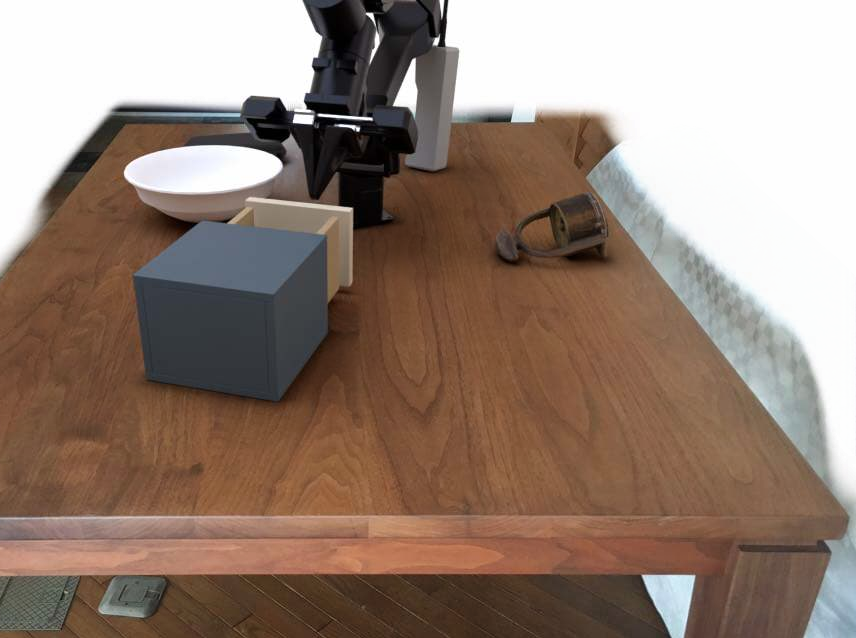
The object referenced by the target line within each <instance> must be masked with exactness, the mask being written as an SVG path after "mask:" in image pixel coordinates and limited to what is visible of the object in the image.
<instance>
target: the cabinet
mask: <svg viewBox="0 0 856 638" xmlns="http://www.w3.org/2000/svg"><path fill="white" fill-rule="evenodd" d="M227 223H228V222H227ZM227 223H226V222H210V221H201V222H200V223H197V224H196V225H195V226H193V227H192V228H191V229H190V230H188V231H187V232H186V233H184V234H183V235H182V236H180V237H179V238H177V239H176V241H174V242H173V243H172V244H170V245H169V246H167V248H165V249H164V250H163V251H162V252H160V253H159V254H157V256H155V257H154V258H152V259H151V260H150V261H149V262H147V263H146V264H145V265H143V266H142V267H141V268H140V269H138V270H137V271H136V272H135V273H133V274H132V280H133V281H132V282H133V286H134V287H133V289H134V295H135V304H136V311H137V312H136V313H137V318H138V326H139V334H140V335H139V336H140V341H141V349H142V357H143V365H144V372H145V380H146V381H150V382H151V381H153V382H158V383H163V384H164V383H165V384H170V385H176V386H181V387H187V388H193V389H198V390H204V391H205V390H206V391H209V392H216V393H222V394H227V395H228V394H229V395H235V396H240V397H247V398H252V399H258V400H263V401H270V402H275V403H279V401H281V399H282V398H283V396H284V394H285V393H286V392H287V390H288V389H289V388H290V386H291V385H292V383H293V382H294V380H295V379H296V378H297V376H298V375H299V374H300V372H301V371H302V370H303V368H304V367H305V365H306V364H307V362H308V361H309V360H310V358H311V357H312V355H314V353H315V352H316V350H317V349H318V347H319V346H320V345H321V343H322V342H323V340H324V339H325V338H326V336H327V335H328V334H329V329H328V328H329V327H328V326H329V308H328V307H329V306H328V305H329V302H328V280H327V235H323V234H314V233H305V232H297V231H288V230H279V229H271V228H262V227H253V226H244V225H236V224H227Z"/></svg>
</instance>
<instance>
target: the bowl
mask: <svg viewBox="0 0 856 638" xmlns="http://www.w3.org/2000/svg"><path fill="white" fill-rule="evenodd" d="M283 170H284V165H283V162H282V160H281V161H280V160H279V159H278V158H277V157H275V156H274V155H272V154H269V153H267V152H264V151H260V150H256V149H251V148H245V147H237V146H221V145H206V146H189V147H184V146H182V147H173V148H168V149H164V150H163V149H162V150H159V151H155V152H151V153H148V154H145V155H143V156H140V157H138V158H136V159H134V160H132V161H131V162H129V163H128V164H127V165H126V166H125V168H124V171H123V175H124V179H125V180H126V181H127V182H129V183H130V184H131V185H132V186H133V187H134V188H135V190H136V193H137V195H138V198H139V199H140V200H141V201H142V202H143V203H144V204H147V205H148V206H150V207H153V208H155V209H156V210H158V211H159V212H161V213H164V214H165V215H167V216H170V217H171V218H175V219H178V220H180V221H184V222H188V223H197V224H198V223H200V222H201V221H210V222H218V223H220V222H224V221H227V220H232V219H233V218H234V217H235V216H237V215H238V214H239V213H240V212H241V211H243V210H244V209H245V208H246V204H245V200H246V199H248V198H249V197H255V198H264V199H267V197H269V196H270V195H271V193H272V192H273V189H274V184H275V182H276V180H277V178H278V177H279V176H280V175H281V174H282V173H283Z"/></svg>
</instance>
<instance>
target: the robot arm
mask: <svg viewBox="0 0 856 638" xmlns="http://www.w3.org/2000/svg"><path fill="white" fill-rule="evenodd" d="M301 1H302V3H303V6H304V8H305V10H306V12H307V15H308V18H309V19H310V22H311V24H312V27H313V29H314V31H315V33H316V34H318V35H319V36H320V37H321V39H320V44H319V49H318V54H317V57H315V56H313V58H312V62H311V68H312V70H313V76H312V80H311V86H310V88H309V92H305V93H304V98H303V104H304V105H305V109H302V108H293V110H287V108H286V106H285V104H284V102H283V101H282V99H281V98H280V97H279V96H278V97H277V96H264V95H263V96H261V95H249V96H248V97H247V98H246V99H245V100H244V101H243V102H242V106H241V110H240V114H239V118H240V119H241V121H242V122H243V123H244V125H245V127H246V128H247V130H248V131H249V133H250V132H251V134H252V135H253V137H254V138H255V139H257V140H259V141H263V142H274V143H282V144H283V143H284V142H286V141H287V140H288V139H289V138H290V137H292V138H293V140H294V142H295V143H296V145H297V147H298V148H299V150H301V154H302V161H303V165H304V172H305V179H306V185H307V191H308V197H309V198H310V200H312V201H319V200H320V199H321V197H322V195H323V194H324V192H325V190H326V189H327V188H328V186H329V184H330V183H331V182H332V180H333V178H334V177H335V175H336V173H337V176H338V177H337V179H338V180H337V201H338V202H337V206H340V207H349V208H353V228H357V227H365V226H371V225H378V224H386V223H392V222H394V217H393V216H392V215H391V214H389V212H387V211H386V210H385V209H384V189H385V187H384V185H385V178H386V179H389V178H391V176H396V175H399V174H400V171H401V170H400V168H401V156H400V155H407V154H410V155H411V154H413V153H415V151H416V146H417V141H418V129H417V126H416V123H415V115H414V113H413V112H412V110H411V108H410V107H409V106H399V105H394V104H395V101H396V99H397V97H398V94H399V92H400V90H401V88H402V85H403V83H404V80H405V79H406V76H407V73H408V71H409V68H410V66H411V64H412V61H413V60H416V58H417V57H419V56H421V55H424V54H426V53H427V52H429V50H430V49H431V47H432V45H434V44H435V41H436V39H439V37H440V30H441V20H442V9H441V1H440V0H301ZM367 14H372V16H373V19H372V18H371V17H370V16H369V15H367ZM373 20H374V21H373ZM377 35H378V40H379V41H378V42H379V43H378V46H377V48H376V36H377ZM375 48H376V50H375ZM373 50H375V52H374V54H373ZM372 54H373V56H372Z"/></svg>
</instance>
